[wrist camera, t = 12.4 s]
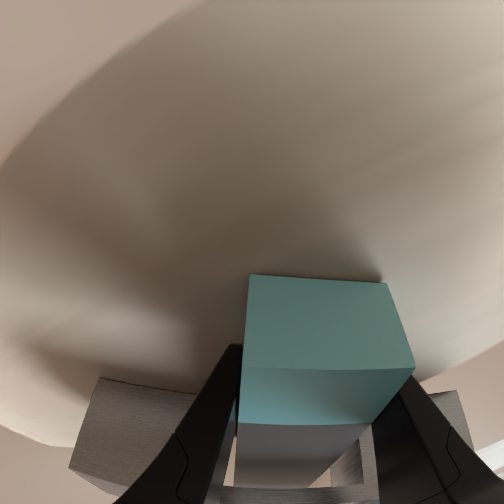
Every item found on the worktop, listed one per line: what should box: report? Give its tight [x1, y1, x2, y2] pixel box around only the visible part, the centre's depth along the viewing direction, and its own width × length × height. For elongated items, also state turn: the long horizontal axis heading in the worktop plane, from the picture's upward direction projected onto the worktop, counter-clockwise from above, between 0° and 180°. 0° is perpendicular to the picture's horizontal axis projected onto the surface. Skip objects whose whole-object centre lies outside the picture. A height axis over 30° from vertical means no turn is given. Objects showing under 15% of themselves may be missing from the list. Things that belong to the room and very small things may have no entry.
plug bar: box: [233, 274, 416, 489], centre depth 11 cm, size 13×4×3 cm, turn 176°
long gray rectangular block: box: [68, 378, 474, 504], centre depth 12 cm, size 5×18×5 cm, turn 87°
